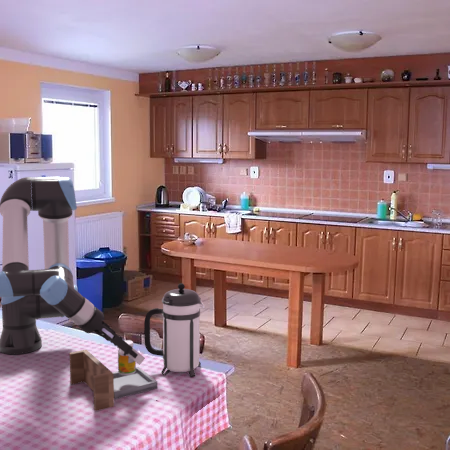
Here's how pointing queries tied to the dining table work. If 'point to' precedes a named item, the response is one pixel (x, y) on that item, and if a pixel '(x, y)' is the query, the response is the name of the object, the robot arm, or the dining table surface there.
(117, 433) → the dining table surface
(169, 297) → the coffee press
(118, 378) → the tray
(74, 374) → the alcove
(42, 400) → the dining table surface
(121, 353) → the supplement bottle
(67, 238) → the robot arm
